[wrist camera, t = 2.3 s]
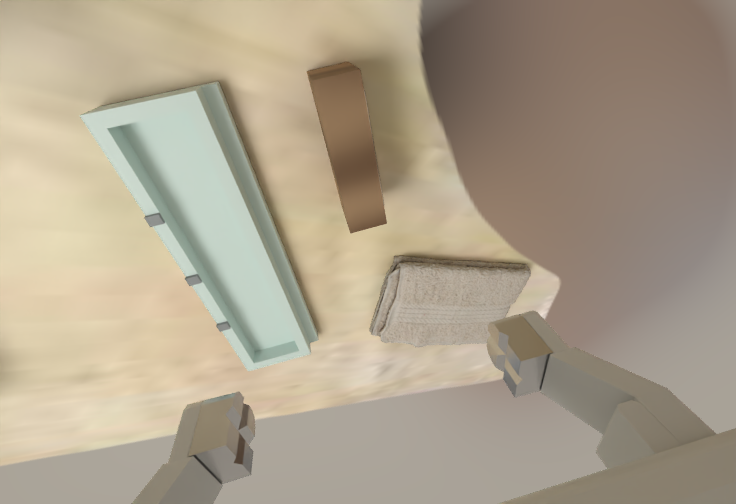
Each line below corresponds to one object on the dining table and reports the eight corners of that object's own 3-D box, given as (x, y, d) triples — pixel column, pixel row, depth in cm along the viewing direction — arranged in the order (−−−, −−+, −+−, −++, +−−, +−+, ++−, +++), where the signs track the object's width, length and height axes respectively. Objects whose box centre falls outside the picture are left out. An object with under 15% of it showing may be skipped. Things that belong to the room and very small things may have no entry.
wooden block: (306, 71, 23) (311, 81, 19) (349, 60, 24) (362, 68, 20) (341, 205, 30) (350, 233, 26) (374, 196, 30) (388, 222, 26)
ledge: (99, 106, 22) (76, 116, 20) (218, 81, 22) (210, 87, 20) (250, 352, 38) (248, 373, 36) (317, 333, 38) (319, 353, 36)
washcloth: (386, 251, 34) (394, 268, 32) (527, 258, 39) (543, 274, 37) (364, 330, 41) (370, 350, 38) (488, 328, 46) (500, 345, 43)
